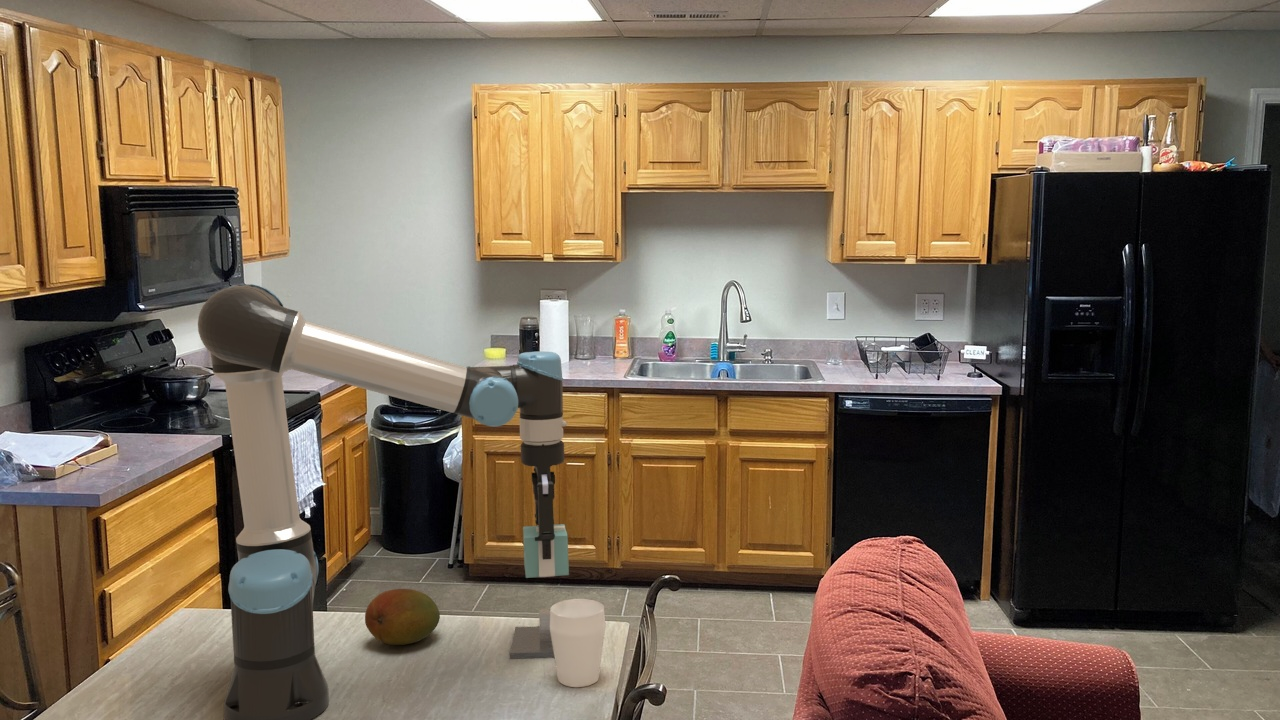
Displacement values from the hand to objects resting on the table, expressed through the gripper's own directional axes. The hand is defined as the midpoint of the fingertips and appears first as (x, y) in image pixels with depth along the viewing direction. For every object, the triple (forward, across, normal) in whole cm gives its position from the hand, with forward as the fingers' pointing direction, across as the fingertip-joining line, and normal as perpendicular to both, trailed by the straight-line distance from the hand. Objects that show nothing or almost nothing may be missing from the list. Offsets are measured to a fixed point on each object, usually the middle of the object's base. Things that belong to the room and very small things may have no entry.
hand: (545, 568), depth 178 cm
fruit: (+14, +6, +25) cm, 29 cm away
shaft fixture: (+14, 0, 0) cm, 14 cm away
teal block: (0, 0, 0) cm, 0 cm away
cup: (+14, -16, -4) cm, 21 cm away
